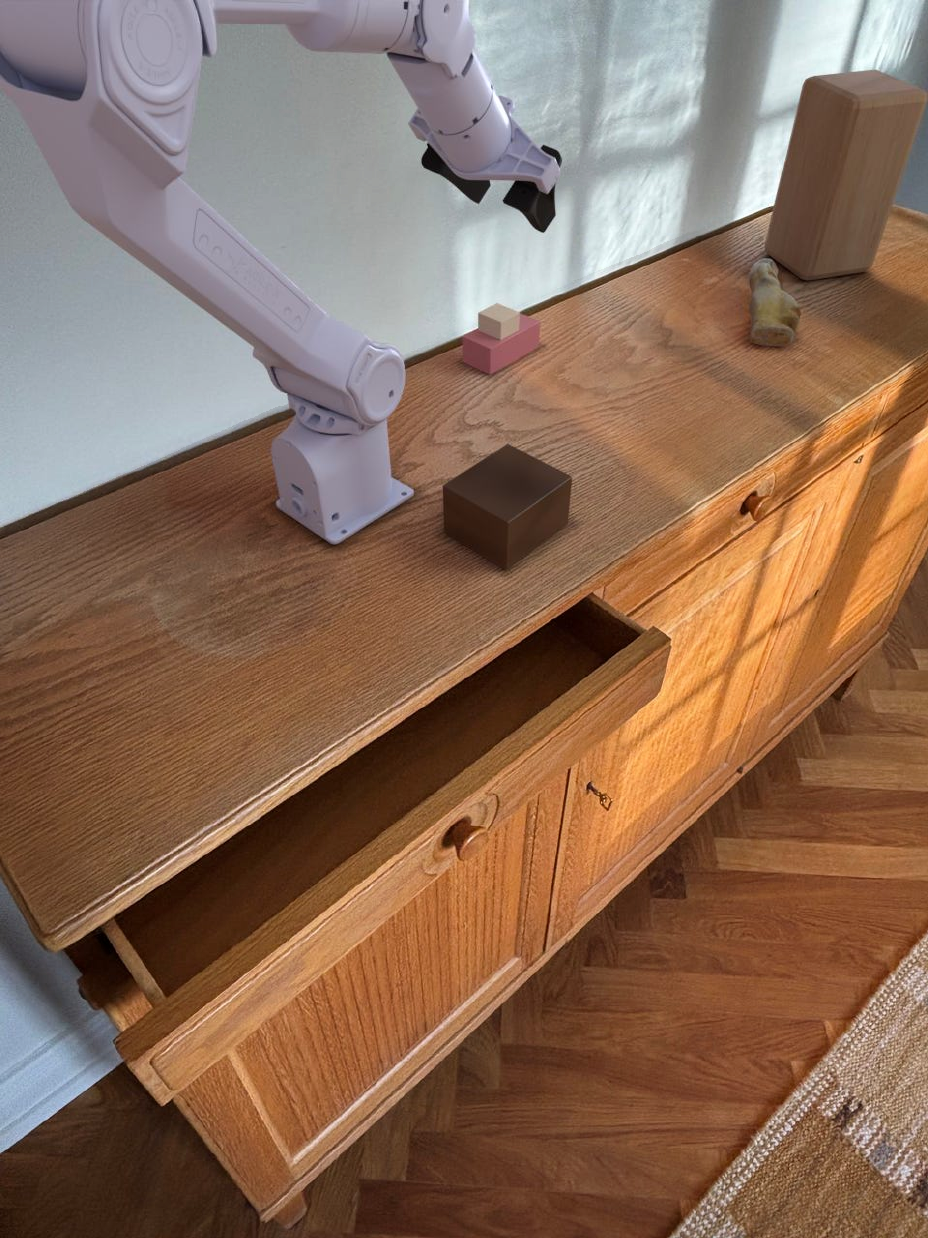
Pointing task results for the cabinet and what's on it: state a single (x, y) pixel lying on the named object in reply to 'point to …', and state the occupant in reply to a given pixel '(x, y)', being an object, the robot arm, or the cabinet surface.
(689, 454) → the cabinet surface
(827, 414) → the cabinet surface
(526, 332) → the pink toy brick
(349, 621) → the cabinet surface
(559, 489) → the walnut block
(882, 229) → the block
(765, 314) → the figurine
